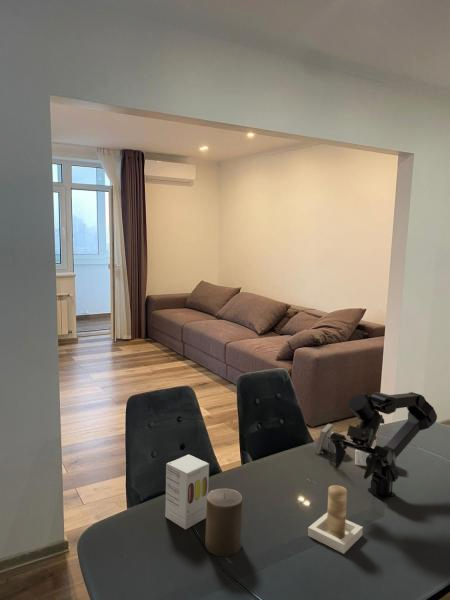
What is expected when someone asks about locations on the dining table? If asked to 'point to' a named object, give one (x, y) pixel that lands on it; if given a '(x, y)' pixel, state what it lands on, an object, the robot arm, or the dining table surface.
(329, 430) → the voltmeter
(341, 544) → the tool holder
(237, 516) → the pillar candle
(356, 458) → the syrup box
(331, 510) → the wooden tool handle
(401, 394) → the robot arm
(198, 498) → the supplement box
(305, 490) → the dining table surface
